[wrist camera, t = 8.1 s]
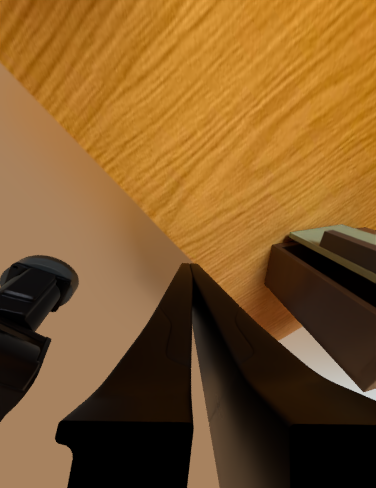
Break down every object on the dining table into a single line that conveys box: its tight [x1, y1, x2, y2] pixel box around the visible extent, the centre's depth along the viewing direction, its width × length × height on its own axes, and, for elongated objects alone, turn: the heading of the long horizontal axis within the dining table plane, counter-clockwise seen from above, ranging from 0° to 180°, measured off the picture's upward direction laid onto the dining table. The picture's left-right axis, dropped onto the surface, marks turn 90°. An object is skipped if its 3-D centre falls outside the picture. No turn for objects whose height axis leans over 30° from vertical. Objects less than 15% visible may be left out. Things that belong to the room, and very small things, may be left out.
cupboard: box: [265, 227, 376, 392], centre depth 19 cm, size 16×10×16 cm, turn 94°
